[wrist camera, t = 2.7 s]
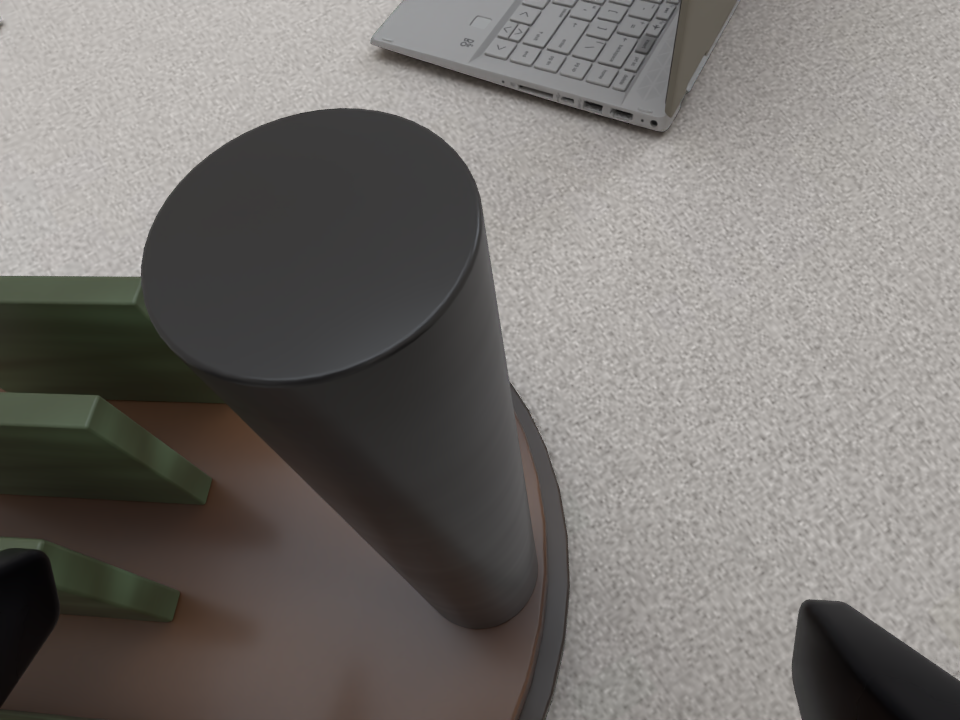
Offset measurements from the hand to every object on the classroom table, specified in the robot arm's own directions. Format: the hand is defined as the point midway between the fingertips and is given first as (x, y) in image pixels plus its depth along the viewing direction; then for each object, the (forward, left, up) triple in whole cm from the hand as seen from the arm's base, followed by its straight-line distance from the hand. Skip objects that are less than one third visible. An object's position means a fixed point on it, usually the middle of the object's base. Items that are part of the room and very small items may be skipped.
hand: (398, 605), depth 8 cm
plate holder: (+2, +7, -8) cm, 11 cm away
